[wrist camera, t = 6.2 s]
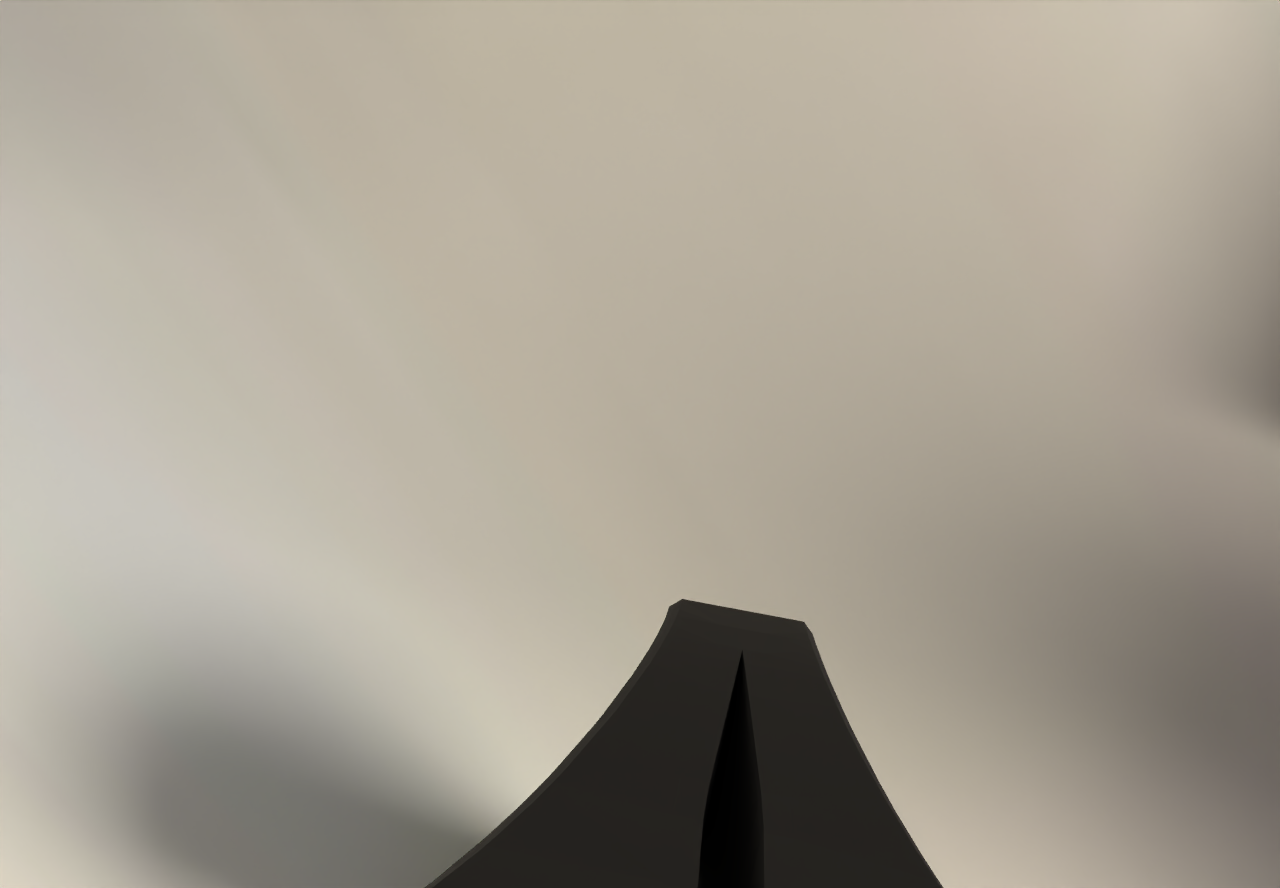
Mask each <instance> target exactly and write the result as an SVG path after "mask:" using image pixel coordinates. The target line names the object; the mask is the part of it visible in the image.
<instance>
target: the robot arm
mask: <svg viewBox="0 0 1280 888" xmlns="http://www.w3.org/2000/svg"><path fill="white" fill-rule="evenodd" d="M425 888H943V887H942V885H941V884H940V882H939V881H938V879H937V878H936V876H935V875H934V873H933V871H932V870H931V868H930V867H929V865H928V864H927V862H926V861H925V859H924V857H923V856H922V854H921V853H920V851H919V850H918V848H917V846H916V845H915V843H914V841H913V840H912V838H911V836H910V835H909V833H908V831H907V830H906V828H905V826H904V825H903V823H902V821H901V820H900V818H899V816H898V815H897V813H896V811H895V810H894V808H893V806H892V804H891V802H890V801H889V799H888V797H887V795H886V794H885V792H884V790H883V788H882V786H881V785H880V783H879V781H878V779H877V777H876V775H875V773H874V771H873V769H872V767H871V765H870V763H869V762H868V760H867V758H866V756H865V754H864V752H863V750H862V748H861V746H860V744H859V742H858V740H857V738H856V736H855V734H854V732H853V730H852V728H851V726H850V724H849V722H848V720H847V718H846V716H845V713H844V711H843V709H842V707H841V705H840V702H839V700H838V698H837V696H836V693H835V691H834V689H833V687H832V684H831V682H830V679H829V677H828V675H827V672H826V670H825V667H824V665H823V662H822V660H821V657H820V654H819V651H818V649H817V646H816V643H815V640H814V637H813V634H812V633H811V631H810V630H809V628H808V627H807V625H806V624H805V623H804V622H802V621H797V620H791V619H786V618H781V617H775V616H770V615H765V614H759V613H754V612H749V611H743V610H738V609H732V608H727V607H722V606H716V605H711V604H706V603H700V602H695V601H690V600H684V599H682V600H680V601H678V602H677V603H675V604H673V605H671V606H670V607H669V609H668V612H667V615H666V618H665V620H664V623H663V625H662V627H661V629H660V631H659V633H658V635H657V636H656V638H655V640H654V642H653V644H652V645H651V647H650V649H649V650H648V652H647V653H646V655H645V656H644V658H643V660H642V661H641V663H640V664H639V666H638V667H637V669H636V670H635V672H634V673H633V675H632V676H631V678H630V679H629V680H628V682H627V683H626V684H625V686H624V687H623V688H622V690H621V691H620V692H619V694H618V695H617V696H616V698H615V699H614V700H613V702H612V703H611V704H610V706H609V707H608V708H607V710H606V711H605V712H604V714H603V715H602V716H601V718H600V719H599V720H598V721H597V723H596V724H595V725H594V726H593V727H592V728H591V730H590V731H589V732H588V733H587V734H586V735H585V736H584V738H583V739H582V740H581V741H580V742H579V743H578V744H577V746H576V747H575V748H574V749H573V750H572V751H571V752H570V754H569V755H568V756H567V757H566V758H565V759H564V760H563V761H562V763H561V764H560V765H559V766H558V767H557V768H556V769H555V771H554V772H553V773H552V774H551V775H550V776H549V777H548V778H547V779H546V780H545V781H544V782H543V783H542V784H541V785H540V786H539V787H538V788H537V789H536V790H535V791H534V792H533V793H532V794H531V795H530V796H529V797H528V798H527V799H526V800H525V801H524V802H523V803H522V804H521V805H520V806H519V807H518V808H517V809H516V810H515V811H514V812H513V813H512V814H511V815H510V816H508V817H507V818H506V819H505V820H504V821H503V822H502V823H501V824H500V825H499V826H498V827H497V828H496V829H494V830H493V831H492V832H491V833H490V834H489V835H488V836H487V837H486V838H484V839H483V840H482V841H481V842H480V843H479V844H477V845H476V846H475V847H474V848H473V849H471V850H470V851H469V852H468V853H467V854H465V855H464V856H463V857H462V858H461V859H459V860H458V861H457V862H456V863H455V864H453V865H452V866H451V867H450V868H449V869H447V870H446V871H445V872H444V873H443V874H441V875H440V876H439V877H438V878H437V879H435V880H434V881H433V882H432V883H430V884H429V885H428V886H426V887H425Z"/></svg>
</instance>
